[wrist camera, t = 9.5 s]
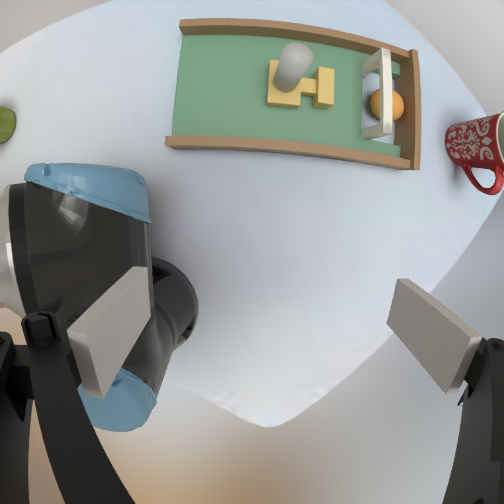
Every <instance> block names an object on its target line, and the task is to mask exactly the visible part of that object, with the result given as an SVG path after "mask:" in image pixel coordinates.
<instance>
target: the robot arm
mask: <svg viewBox="0 0 504 504" xmlns="http://www.w3.org/2000/svg"><path fill="white" fill-rule="evenodd" d="M24 178H25V180H26V181H27V182H25V183H20V184H13V185H7V187H6V188H5V189H4V191H3V192H2V194H1V195H0V308H2V307H6V308H9V309H10V310H12V311H13V312H15V313H16V314H17V315H18V316H20V317H21V318H23V319H22V321H21V326H22V329H23V332H24V336H25V339H26V343H27V345H14V343H13V340H12V337H11V335H10V334H9V333H7V332H0V504H29V489H28V451H29V433H30V421H31V411H32V403H33V400H35V406H36V411H37V415H38V420H39V424H40V429H41V432H42V437H43V440H44V444H45V448H46V451H47V454H48V458H49V461H50V464H51V467H52V470H53V473H54V476H55V479H56V481H57V484H58V487H59V489H60V492H61V494H62V497H63V499H64V502H65V504H135V502H134V501H133V499H132V498H131V496H130V495H129V493H128V491H127V490H126V488H125V487H124V485H123V483H122V482H121V480H120V479H119V477H118V475H117V473H116V471H115V469H114V468H113V466H112V464H111V462H110V460H109V458H108V457H107V455H106V453H105V451H104V449H103V447H102V445H101V443H100V441H99V439H98V437H97V435H96V433H95V430H94V428H93V426H94V427H97V428H100V429H103V430H108V431H114V432H126V431H131V430H134V429H136V428H138V427H141V426H142V425H143V424H144V423H145V422H146V421H147V419H148V417H149V415H150V413H151V411H152V409H153V408H154V407H155V405H156V403H157V402H156V398H157V395H158V392H159V389H160V386H161V384H162V381H163V378H164V375H165V372H166V369H167V366H168V363H169V360H170V357H171V355H172V352H173V351H174V350H175V349H177V348H178V347H179V346H180V345H182V344H183V343H184V342H185V341H186V340H187V339H188V338H189V336H190V335H191V333H192V331H193V329H194V326H195V323H196V320H197V316H198V301H197V297H196V294H195V291H194V289H193V287H192V285H191V283H190V282H189V280H188V279H187V278H186V276H185V275H184V274H183V273H182V272H181V271H180V270H178V269H177V268H176V267H174V266H173V265H171V264H169V263H168V262H165V261H163V260H160V259H157V258H152V257H151V239H150V224H152V220H151V218H150V217H149V207H148V190H147V184H146V182H145V180H144V178H143V177H142V176H141V175H140V174H138V173H137V172H135V171H132V170H129V169H124V168H118V167H111V166H103V165H93V164H78V163H58V164H54V163H52V164H44V163H40V164H33V165H30V166H29V167H28V169H27V172H26V174H25V175H24ZM387 325H388V326H389V327H390V328H391V329H392V330H393V331H394V333H395V334H396V335H397V336H398V337H399V338H400V340H401V341H402V342H403V343H404V344H405V346H406V347H407V348H408V349H409V350H410V351H411V353H412V354H413V355H414V356H415V357H416V359H417V360H418V361H419V362H420V363H421V365H422V366H423V367H424V368H425V369H426V371H427V372H428V373H429V374H430V376H431V377H432V378H433V379H434V381H435V382H436V383H437V384H438V386H439V387H440V388H441V389H442V391H443V392H444V393H445V394H446V395H447V394H450V393H454V392H458V390H459V388H460V386H461V384H462V382H463V380H465V381H466V382H467V383H468V385H467V387H466V389H465V391H464V393H463V395H462V397H461V399H460V400H459V402H458V404H457V405H458V406H459V405H460V403H461V402H463V406H462V407H463V410H462V418H461V425H460V432H459V437H458V443H457V448H456V453H455V458H454V463H453V467H452V471H451V475H450V479H449V483H448V486H447V490H446V493H445V496H444V500H443V503H442V504H504V341H503V340H501V339H496V338H490V339H488V340H486V339H484V338H483V335H481V334H480V333H479V332H478V331H476V330H475V329H474V328H473V327H471V326H470V325H469V324H468V323H466V322H465V321H464V320H462V319H461V318H460V317H459V316H457V315H456V314H455V313H453V312H452V311H451V310H450V309H448V308H447V307H446V306H444V305H443V304H442V303H440V302H439V301H438V300H436V299H435V298H434V297H433V296H431V295H430V294H428V293H427V292H426V291H424V290H423V289H422V288H420V287H419V286H418V285H416V284H415V283H413V282H412V281H411V280H409V279H397V282H396V287H395V291H394V296H393V300H392V304H391V308H390V312H389V316H388V320H387Z"/></svg>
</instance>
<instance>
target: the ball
mask: <svg viewBox="0 0 504 504" xmlns="http://www.w3.org/2000/svg"><path fill="white" fill-rule="evenodd" d="M370 107H371V110H372V112H373V113H374V114H375V116H376V117H378V118H379V119H380V89H378V90H376V91H375V92H374V93H373V94H372V96H371V99H370ZM403 111H404V102H403V100H402V98H401V96H400V95H399V94H398V93H397V92H396V91H394V90H392V121H395V120H397V119H399V118H400V117H401V115H402V114H403Z"/></svg>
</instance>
